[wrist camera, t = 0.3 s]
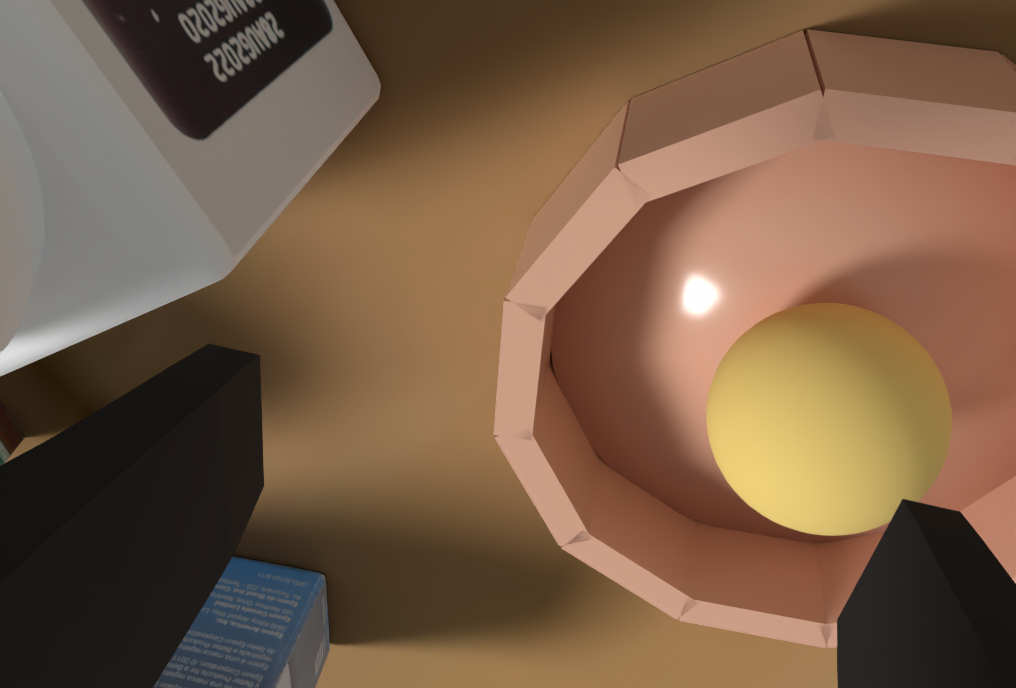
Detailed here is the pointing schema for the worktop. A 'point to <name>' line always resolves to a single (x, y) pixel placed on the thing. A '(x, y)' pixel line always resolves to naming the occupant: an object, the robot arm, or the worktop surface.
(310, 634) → the label tape box
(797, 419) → the ball
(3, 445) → the food container
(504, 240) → the worktop surface
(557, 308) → the bowl
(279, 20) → the container
